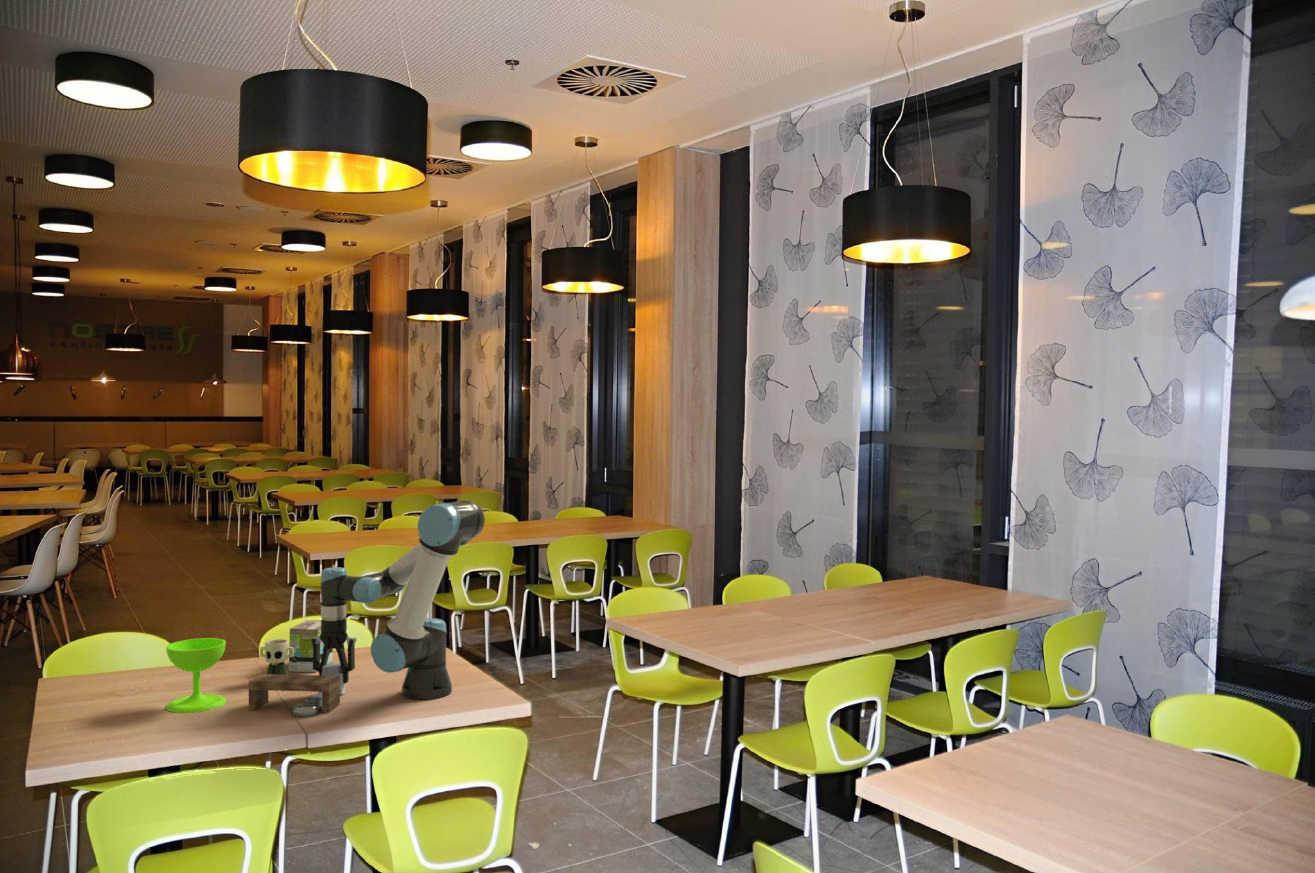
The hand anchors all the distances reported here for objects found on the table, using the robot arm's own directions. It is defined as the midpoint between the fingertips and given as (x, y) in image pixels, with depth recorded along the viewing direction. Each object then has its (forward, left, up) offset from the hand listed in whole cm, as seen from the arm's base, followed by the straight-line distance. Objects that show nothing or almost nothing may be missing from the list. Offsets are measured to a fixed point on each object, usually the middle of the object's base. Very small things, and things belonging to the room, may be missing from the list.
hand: (333, 692), depth 292 cm
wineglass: (+36, +14, -1) cm, 39 cm away
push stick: (0, +7, 0) cm, 7 cm away
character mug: (+24, -12, -1) cm, 27 cm away
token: (0, +20, 0) cm, 20 cm away
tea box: (+21, -31, -1) cm, 38 cm away
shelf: (+6, +14, 0) cm, 15 cm away
